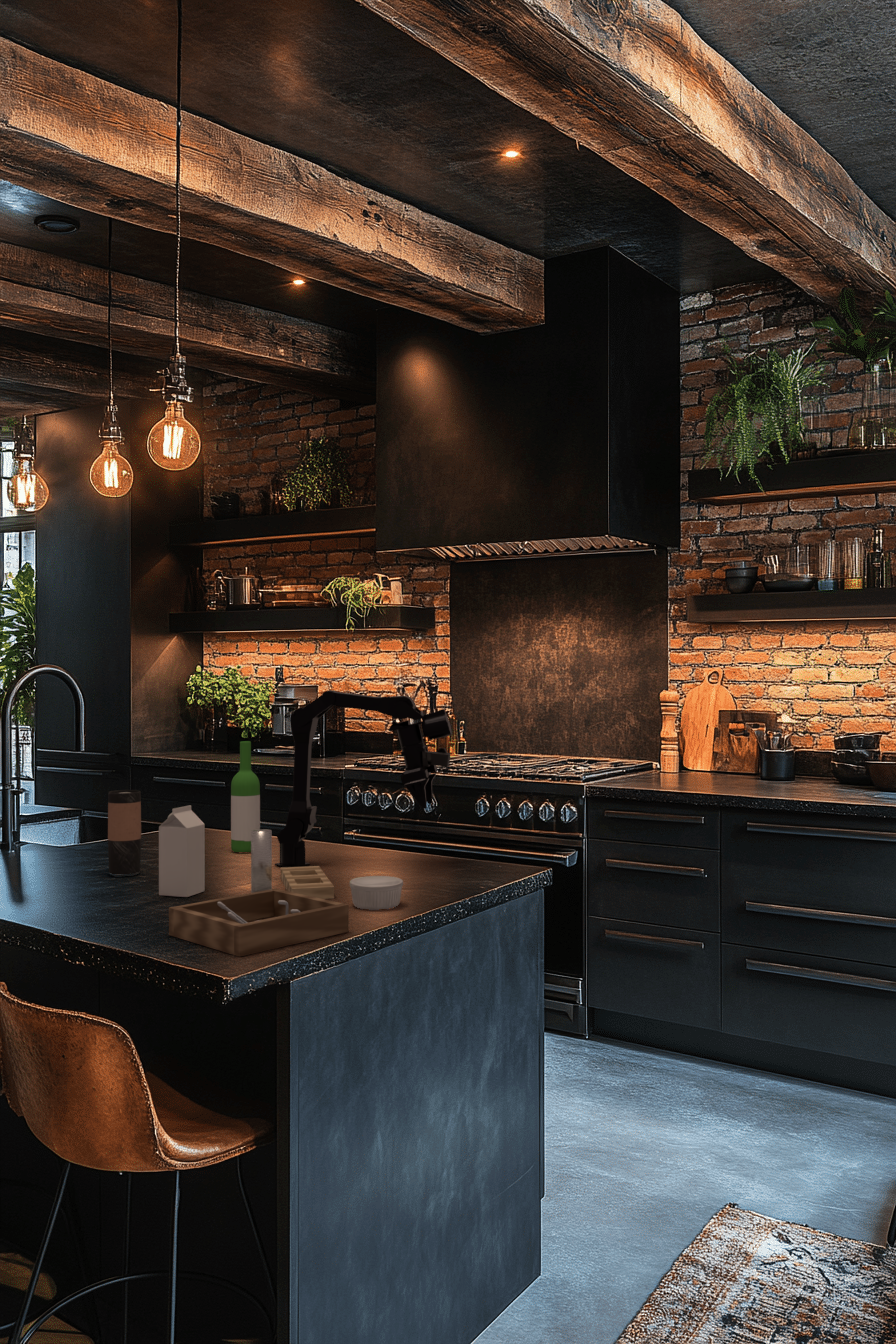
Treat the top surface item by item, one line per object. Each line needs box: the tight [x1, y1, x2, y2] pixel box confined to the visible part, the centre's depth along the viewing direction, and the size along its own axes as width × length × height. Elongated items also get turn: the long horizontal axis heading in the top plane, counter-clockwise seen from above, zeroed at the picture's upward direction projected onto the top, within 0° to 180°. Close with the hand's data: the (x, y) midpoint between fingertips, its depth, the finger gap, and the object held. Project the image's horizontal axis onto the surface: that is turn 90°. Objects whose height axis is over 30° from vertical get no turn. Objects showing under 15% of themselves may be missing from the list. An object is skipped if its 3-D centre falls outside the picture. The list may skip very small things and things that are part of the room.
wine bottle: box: [230, 740, 261, 853], centre depth 288 cm, size 8×8×30 cm
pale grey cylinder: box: [250, 828, 273, 893], centre depth 229 cm, size 4×4×14 cm
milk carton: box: [158, 805, 206, 898], centre depth 231 cm, size 7×7×19 cm
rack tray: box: [168, 888, 350, 957], centre depth 195 cm, size 22×24×5 cm
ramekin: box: [349, 875, 404, 911], centre depth 218 cm, size 11×11×5 cm
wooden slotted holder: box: [280, 865, 335, 900], centre depth 237 cm, size 26×9×2 cm, turn 14°
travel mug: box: [107, 789, 142, 874], centre depth 254 cm, size 8×8×20 cm
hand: (427, 805), depth 262 cm, fingers open, 9 cm apart
